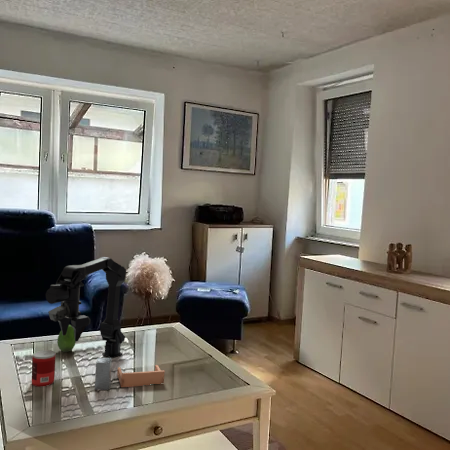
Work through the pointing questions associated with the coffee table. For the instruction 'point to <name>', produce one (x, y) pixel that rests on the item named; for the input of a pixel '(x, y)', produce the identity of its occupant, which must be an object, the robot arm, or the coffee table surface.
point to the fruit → (66, 340)
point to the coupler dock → (140, 377)
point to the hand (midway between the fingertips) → (70, 338)
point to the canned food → (43, 368)
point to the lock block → (103, 373)
